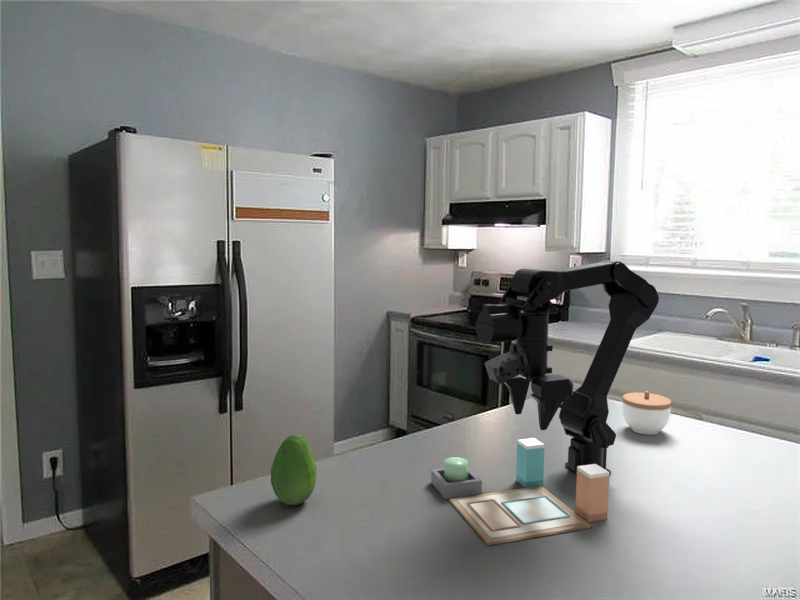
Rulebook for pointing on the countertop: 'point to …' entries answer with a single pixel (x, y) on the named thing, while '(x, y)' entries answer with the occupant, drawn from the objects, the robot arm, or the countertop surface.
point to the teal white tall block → (530, 462)
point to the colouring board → (517, 515)
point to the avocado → (294, 471)
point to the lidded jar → (646, 412)
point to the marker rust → (592, 492)
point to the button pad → (456, 485)
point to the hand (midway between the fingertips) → (530, 421)
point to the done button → (455, 469)
